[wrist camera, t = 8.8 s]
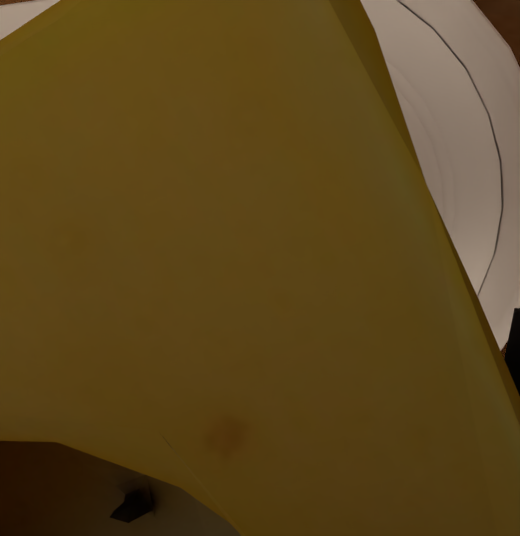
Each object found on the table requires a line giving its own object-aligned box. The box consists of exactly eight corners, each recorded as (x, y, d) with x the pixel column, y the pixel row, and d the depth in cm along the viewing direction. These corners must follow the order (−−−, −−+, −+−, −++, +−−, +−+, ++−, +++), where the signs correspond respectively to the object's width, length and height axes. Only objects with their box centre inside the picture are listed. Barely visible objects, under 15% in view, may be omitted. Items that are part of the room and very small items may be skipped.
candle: (474, 373, 14) (783, 901, 5) (176, 480, 17) (-1, 977, 7) (324, 27, 12) (369, -249, 2) (-2, 210, 14) (-625, 435, 5)
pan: (118, -228, 19) (70, -309, 15) (696, 137, 21) (780, 146, 17) (-60, 290, 27) (-120, 321, 23) (370, 516, 29) (379, 579, 25)
